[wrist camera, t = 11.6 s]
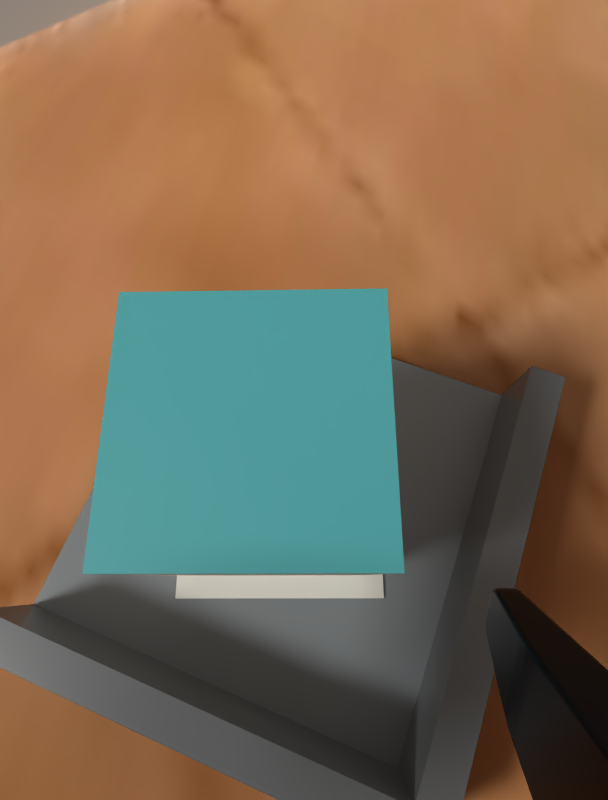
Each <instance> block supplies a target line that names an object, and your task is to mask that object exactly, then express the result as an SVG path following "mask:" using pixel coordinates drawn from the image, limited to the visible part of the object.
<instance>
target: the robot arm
mask: <svg viewBox="0 0 608 800" xmlns="http://www.w3.org/2000/svg"><path fill="white" fill-rule="evenodd" d="M485 627H486V636H487V640H488V644H489V649H490V653H491V657H492V661H493V666H494V670H495V674H496V678H497V683H498V687H499V691H500V696H501V700H502V704H503V708H504V712H505V716H506V720H507V724H508V728H509V731H510V734H511V737H512V740H513V743H514V746H515V749H516V752H517V755H518V758H519V761H520V764H521V767H522V769H523V772H524V775H525V778H526V781H527V784H528V787H529V790H530V793H531V796H532V798H533V800H608V670H607V669H606V668H605V667H604V666H603V665H602V664H600V663H599V662H598V661H597V660H596V659H595V658H594V657H593V656H592V655H590V654H589V653H588V652H587V651H586V650H585V649H584V648H583V647H582V646H580V645H579V644H578V643H577V642H576V641H575V640H574V639H573V638H572V637H571V636H569V635H568V634H567V633H566V632H565V631H564V630H563V629H562V628H561V627H559V626H558V625H557V624H556V623H555V622H554V621H553V620H552V619H551V618H549V617H548V616H547V615H546V614H545V613H544V612H543V611H542V610H541V609H540V608H538V607H537V606H536V605H535V604H534V603H533V602H532V601H531V600H530V599H528V598H527V597H526V596H525V595H524V594H523V593H522V592H521V591H519V590H517V589H515V588H496V589H493V591H492V592H491V595H490V600H489V606H488V611H487V617H486V624H485Z"/></svg>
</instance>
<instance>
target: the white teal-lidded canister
mask: <svg viewBox="0 0 608 800" xmlns="http://www.w3.org/2000/svg"><path fill="white" fill-rule="evenodd" d="M401 573H404V557H403V541H402V524H401V508H400V492H399V476H398V460H397V443H396V427H395V411H394V395H393V379H392V362H391V346H390V330H389V314H388V298H387V289H322V290H249V291H176V292H119V298H118V305H117V313H116V321H115V328H114V336H113V343H112V351H111V359H110V366H109V374H108V382H107V389H106V397H105V404H104V412H103V420H102V427H101V435H100V443H99V450H98V458H97V465H96V473H95V481H94V488H93V496H92V504H91V511H90V519H89V527H88V534H87V542H86V549H85V557H84V565H83V572H82V574H119V575H189V576H271V575H379V574H401Z"/></svg>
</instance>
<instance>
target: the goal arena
mask: <svg viewBox="0 0 608 800" xmlns="http://www.w3.org/2000/svg"><path fill="white" fill-rule="evenodd" d="M391 362H392V379H393V395H394V411H395V427H396V443H397V460H398V476H399V492H400V508H401V524H402V541H403V557H404V573H401V574H379V575H271V576H189V575H119V574H82V572H83V565H84V557H85V549H86V542H87V534H88V527H89V519H90V511H91V504H92V496H93V490H92V492H91V494H90V496H89V498H88V500H87V502H86V503H85V505H84V507H83V509H82V511H81V513H80V515H79V517H78V519H77V521H76V523H75V525H74V527H73V529H72V531H71V533H70V535H69V537H68V539H67V540H66V542H65V544H64V546H63V548H62V550H61V552H60V554H59V556H58V558H57V560H56V562H55V564H54V566H53V568H52V570H51V572H50V574H49V575H48V577H47V579H46V581H45V583H44V585H43V587H42V589H41V591H40V593H39V595H38V597H37V599H36V601H35V603H34V604H31V605H20V606H10V607H0V668H2V669H4V670H7V671H9V672H11V673H13V674H15V675H17V676H19V677H21V678H23V679H25V680H28V681H30V682H32V683H34V684H36V685H38V686H40V687H42V688H44V689H47V690H49V691H51V692H53V693H55V694H57V695H59V696H61V697H63V698H65V699H68V700H70V701H72V702H74V703H76V704H78V705H80V706H82V707H84V708H86V709H89V710H91V711H93V712H95V713H97V714H99V715H101V716H103V717H105V718H108V719H110V720H112V721H114V722H116V723H118V724H120V725H122V726H124V727H126V728H129V729H131V730H133V731H135V732H137V733H139V734H141V735H143V736H145V737H147V738H150V739H152V740H154V741H156V742H158V743H160V744H162V745H164V746H166V747H169V748H171V749H173V750H175V751H177V752H179V753H181V754H183V755H185V756H187V757H190V758H192V759H194V760H196V761H198V762H200V763H202V764H204V765H206V766H208V767H211V768H213V769H215V770H217V771H219V772H221V773H223V774H225V775H227V776H230V777H232V778H234V779H236V780H238V781H240V782H242V783H244V784H246V785H248V786H251V787H253V788H255V789H257V790H259V791H261V792H263V793H265V794H267V795H269V796H272V797H274V798H276V799H278V800H464V796H465V792H466V788H467V784H468V780H469V775H470V771H471V767H472V763H473V759H474V755H475V751H476V746H477V742H478V738H479V734H480V730H481V726H482V721H483V717H484V713H485V709H486V705H487V701H488V697H489V692H490V688H491V684H492V680H493V676H494V672H495V670H494V666H493V661H492V657H491V653H490V649H489V644H488V640H487V636H486V627H485V624H486V617H487V611H488V606H489V600H490V595H491V592H492V591H493V589H496V588H515V584H516V580H517V576H518V572H519V568H520V564H521V560H522V555H523V551H524V547H525V543H526V539H527V535H528V530H529V526H530V522H531V518H532V514H533V510H534V506H535V501H536V497H537V493H538V489H539V485H540V481H541V476H542V472H543V468H544V464H545V460H546V456H547V452H548V447H549V443H550V439H551V435H552V431H553V427H554V423H555V418H556V414H557V410H558V406H559V402H560V398H561V393H562V389H563V385H564V381H565V377H564V376H561V375H558V374H554V373H551V372H548V371H545V370H542V369H539V368H536V367H533V366H531V367H530V368H529V369H528V370H527V371H526V372H525V373H524V374H523V375H522V376H521V377H520V378H519V379H518V380H517V381H516V382H515V383H514V384H513V385H512V386H511V387H510V388H509V389H508V390H507V391H506V392H505V393H504V394H503V395H500V394H497V393H494V392H491V391H488V390H485V389H482V388H479V387H476V386H473V385H470V384H467V383H464V382H461V381H458V380H455V379H452V378H449V377H446V376H443V375H440V374H437V373H434V372H431V371H428V370H426V369H423V368H420V367H417V366H414V365H411V364H408V363H405V362H402V361H399V360H396V359H393V358H391Z"/></svg>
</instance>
